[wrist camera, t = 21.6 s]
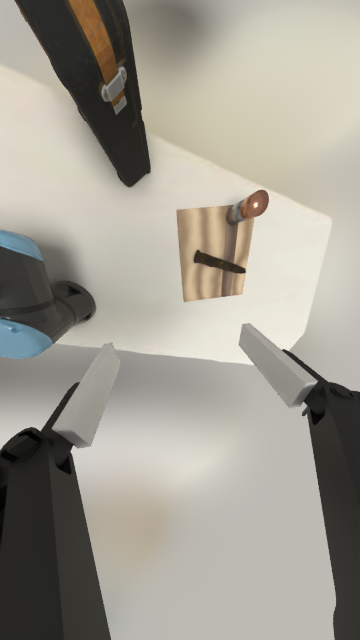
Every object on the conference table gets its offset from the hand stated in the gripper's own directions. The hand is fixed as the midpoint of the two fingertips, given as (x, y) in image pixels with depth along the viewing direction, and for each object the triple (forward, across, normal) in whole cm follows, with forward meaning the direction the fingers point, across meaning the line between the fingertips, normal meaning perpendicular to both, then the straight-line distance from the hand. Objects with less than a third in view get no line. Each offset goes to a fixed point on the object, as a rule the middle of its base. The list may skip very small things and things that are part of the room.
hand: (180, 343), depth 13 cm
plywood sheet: (+37, +17, +4) cm, 41 cm away
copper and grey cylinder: (+36, +22, +16) cm, 45 cm away
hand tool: (+37, +19, +3) cm, 41 cm away
